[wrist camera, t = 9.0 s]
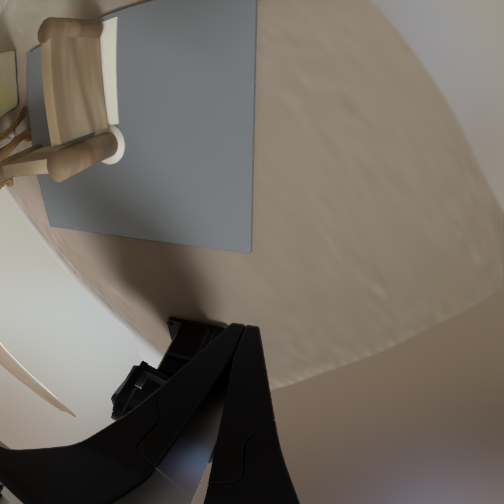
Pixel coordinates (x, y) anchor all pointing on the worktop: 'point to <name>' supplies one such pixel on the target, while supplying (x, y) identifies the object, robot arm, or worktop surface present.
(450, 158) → the worktop surface
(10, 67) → the toy refrigerator
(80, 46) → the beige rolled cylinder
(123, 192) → the board
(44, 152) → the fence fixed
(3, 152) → the lion figurine
